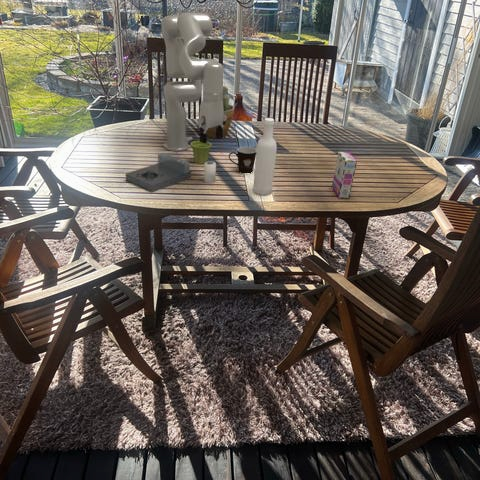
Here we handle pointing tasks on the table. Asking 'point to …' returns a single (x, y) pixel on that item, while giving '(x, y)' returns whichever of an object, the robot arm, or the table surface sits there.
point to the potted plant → (227, 111)
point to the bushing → (209, 172)
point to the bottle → (265, 160)
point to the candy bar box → (344, 174)
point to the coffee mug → (245, 159)
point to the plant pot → (200, 151)
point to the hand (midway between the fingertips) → (211, 140)
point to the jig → (160, 173)
